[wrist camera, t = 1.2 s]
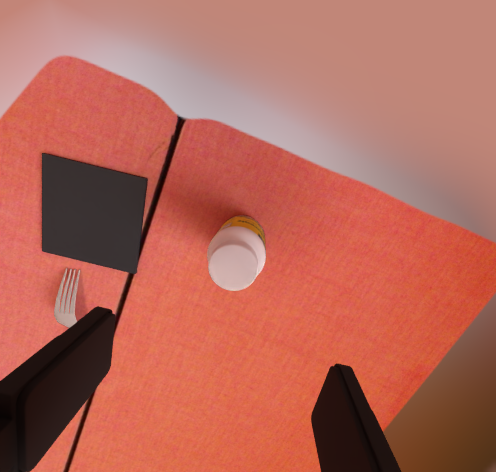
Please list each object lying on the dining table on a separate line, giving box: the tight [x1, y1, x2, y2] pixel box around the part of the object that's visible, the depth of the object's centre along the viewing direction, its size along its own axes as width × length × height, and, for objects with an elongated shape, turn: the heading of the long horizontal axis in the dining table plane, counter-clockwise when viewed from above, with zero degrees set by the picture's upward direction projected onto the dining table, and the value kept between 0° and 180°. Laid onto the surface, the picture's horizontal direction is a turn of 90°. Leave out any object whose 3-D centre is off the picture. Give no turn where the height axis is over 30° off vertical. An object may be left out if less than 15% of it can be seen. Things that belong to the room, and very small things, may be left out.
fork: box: [54, 268, 80, 328], centre depth 33 cm, size 3×21×3 cm, turn 174°
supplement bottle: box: [207, 215, 266, 291], centre depth 23 cm, size 5×5×10 cm
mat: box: [42, 153, 148, 274], centre depth 28 cm, size 12×12×1 cm
